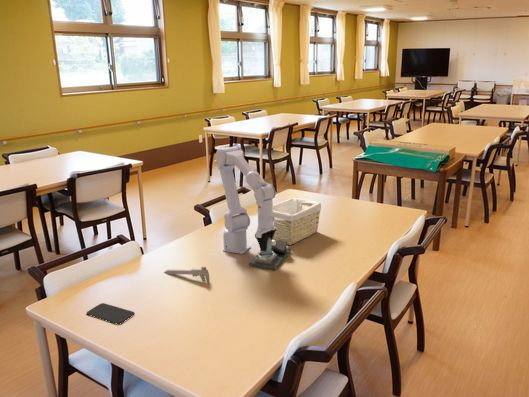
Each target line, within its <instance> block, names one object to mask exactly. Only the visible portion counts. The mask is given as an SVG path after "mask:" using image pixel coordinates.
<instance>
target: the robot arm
mask: <svg viewBox="0 0 529 397" xmlns="http://www.w3.org/2000/svg"><path fill="white" fill-rule="evenodd" d="M214 157H215V161H216V165H217V169H218V170H219V172H220V178H221V182H222V187H223V191H224V194H225V199H226V200H225V201H226V204H227V208H228V209H227V210H226V211H225V213H224V214H223V217H224V227H225V230H224V231H223V238H222V239H223V249H222V252H227V253H233V254H235V253H236V254H240V255H243V254H244V253H246V252H247V251H248V250H249V249H251V246H250V245H248V244H247V243H248V242H247V230H248V228H249V227H250V225H251V219H250V215H249V213H248V211H247V209H246V208H244V207H242V206H241V200H240V197H239V193H238V189H237V184H236V179H235V175H234V168H235V167H236V168H237V169H238V170H239V171H240V172H241V173H242V174H243V175H244V176H245V182H246V184H248V186H249V187H250V189H251V190H252V191H253V192H254V193H253V197H254V200H255V203H256V206H257V228H256V232H255V234H254V238H255V239H256V240H257V243H258V246H259V248H260V250H261V251H266V250H267V242H268V239H269V237H270V238H271V241H272V240H273V236H274V233H275V231H276V227H274V226H275V221H273V205H274V204H273V203H274V202H273V199H275V197H276V189H275V187H274V185H273V184H272V183H269V182H266V181H265V179H264V178H263V177H262V176H261V175H260V173H259V172H258V171H256V170H255V171H253V170H252V168H251V166H250V164H249V163H248V161H247V160H246V159H245V156H244V151H243V149H242V148H241V147H240V145H234V146H228V147H223V148H218V149H217V150H216V152H215V155H214ZM260 250H259V251H260Z"/></svg>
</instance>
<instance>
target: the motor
mask: <svg viewBox="0 0 529 397" xmlns="http://www.w3.org/2000/svg"><path fill="white" fill-rule="evenodd" d="M272 241H275V242H276V245H275V246H274V245H271V251H272V252H271V253H269V254H262V253H261V252H260V250H259V251H258V252H257V253H256V255H255V256H253V258H252V259H251V260H250V261H248V266H249V267H253V268H259V269H264V270H269V271H276V270H277V269H278V268H279V266H281V264H282V263H283V262H284V261H285V260H286V258H287V257H289V255H290V254H291V252H292V249H290V248H289V245H288V244H287V241H283V240H276V239H273V240H272Z"/></svg>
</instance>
